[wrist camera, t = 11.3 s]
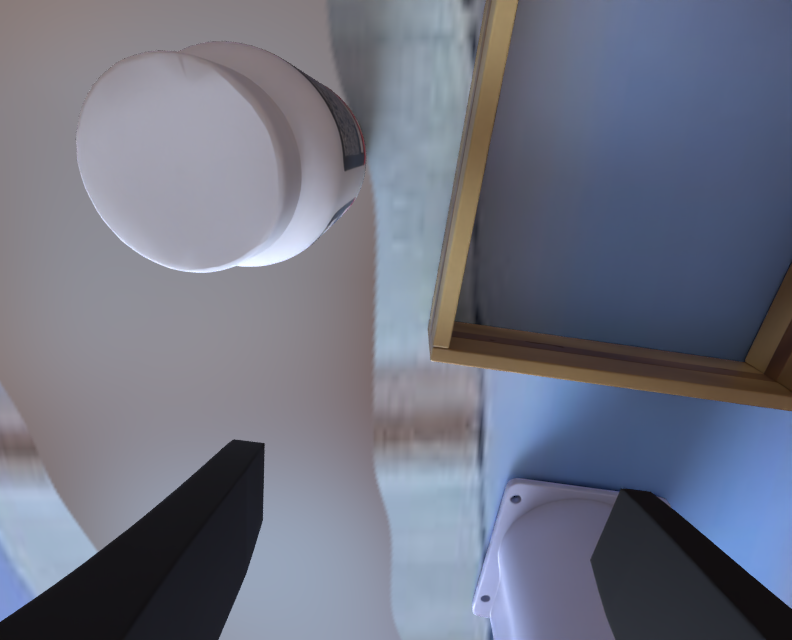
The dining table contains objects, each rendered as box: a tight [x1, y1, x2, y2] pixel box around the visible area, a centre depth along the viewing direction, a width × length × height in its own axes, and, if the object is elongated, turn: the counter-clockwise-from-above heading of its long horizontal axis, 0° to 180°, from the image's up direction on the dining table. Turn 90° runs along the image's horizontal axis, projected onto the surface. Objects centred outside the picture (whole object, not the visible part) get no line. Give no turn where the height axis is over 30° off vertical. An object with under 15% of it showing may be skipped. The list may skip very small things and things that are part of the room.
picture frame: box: [428, 0, 792, 411], centre depth 15 cm, size 14×14×3 cm
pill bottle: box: [76, 41, 366, 273], centre depth 12 cm, size 5×5×9 cm
